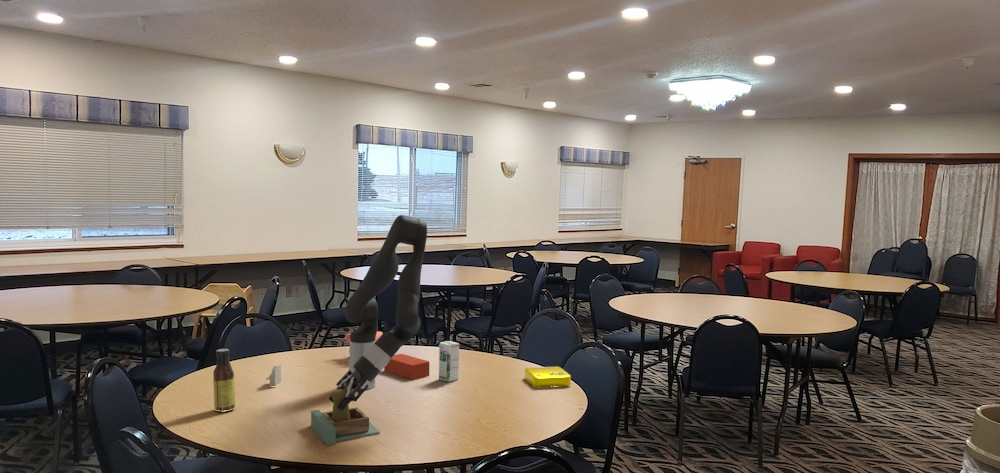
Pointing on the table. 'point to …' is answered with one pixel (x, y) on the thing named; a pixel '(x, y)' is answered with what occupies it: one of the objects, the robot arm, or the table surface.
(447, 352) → the syrup box
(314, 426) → the track and backstop
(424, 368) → the brick
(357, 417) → the wooden tray
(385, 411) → the table surface
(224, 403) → the sauce bottle
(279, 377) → the architectural model
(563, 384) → the element tile
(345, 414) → the olive knob
